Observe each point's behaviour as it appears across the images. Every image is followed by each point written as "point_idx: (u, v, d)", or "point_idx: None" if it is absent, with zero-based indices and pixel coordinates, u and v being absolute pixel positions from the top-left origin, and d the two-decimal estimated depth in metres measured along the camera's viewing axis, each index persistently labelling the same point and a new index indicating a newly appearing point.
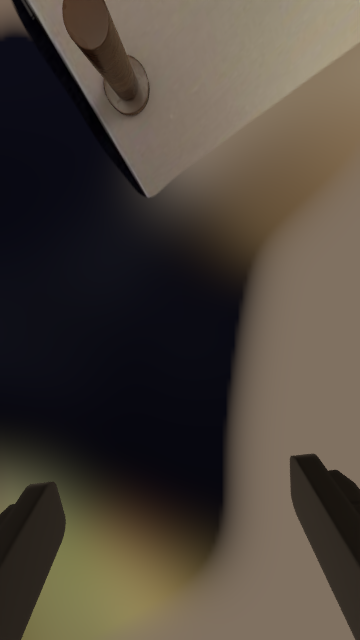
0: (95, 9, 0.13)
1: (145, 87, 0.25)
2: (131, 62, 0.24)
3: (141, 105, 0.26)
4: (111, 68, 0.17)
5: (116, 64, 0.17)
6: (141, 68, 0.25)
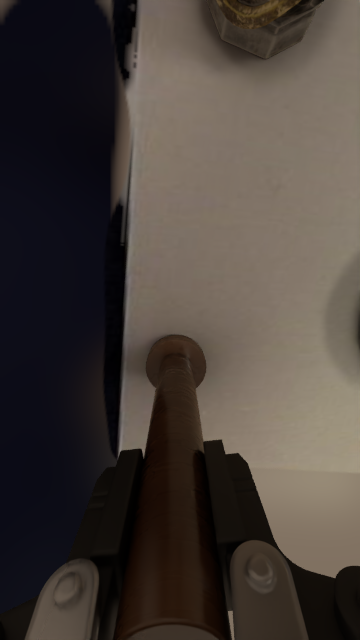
0: None
1: (195, 383, 0.19)
2: (197, 356, 0.18)
3: None
4: None
5: None
6: (203, 367, 0.18)
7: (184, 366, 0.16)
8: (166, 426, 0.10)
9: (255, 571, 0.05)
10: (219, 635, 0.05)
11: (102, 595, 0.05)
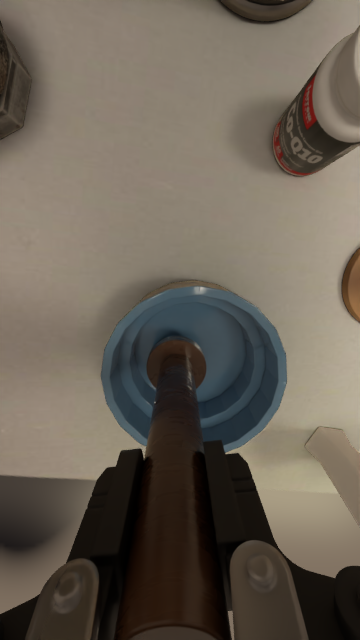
0: None
1: (196, 384, 0.19)
2: (197, 357, 0.18)
3: None
4: None
5: None
6: (204, 368, 0.19)
7: (184, 367, 0.16)
8: (167, 427, 0.10)
9: (255, 571, 0.05)
10: (219, 637, 0.05)
11: (102, 595, 0.05)
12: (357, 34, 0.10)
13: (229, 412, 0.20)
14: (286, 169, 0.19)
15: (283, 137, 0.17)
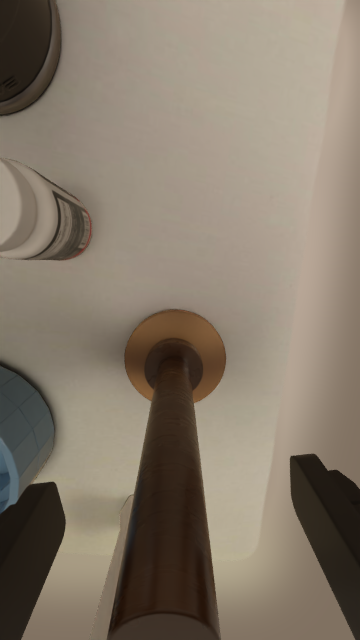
0: None
1: (192, 386, 0.19)
2: (194, 359, 0.19)
3: None
4: None
5: None
6: (200, 370, 0.19)
7: (181, 369, 0.17)
8: (163, 428, 0.10)
9: None
10: (207, 624, 0.05)
11: None
12: None
13: (4, 493, 0.20)
14: None
15: None
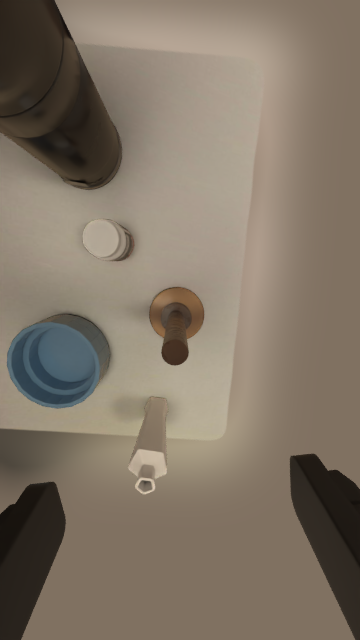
0: (181, 354, 0.22)
1: (186, 327, 0.36)
2: (186, 312, 0.36)
3: None
4: None
5: None
6: (190, 318, 0.36)
7: (179, 314, 0.34)
8: (172, 324, 0.28)
9: None
10: (185, 344, 0.22)
11: None
12: None
13: (85, 386, 0.37)
14: None
15: None
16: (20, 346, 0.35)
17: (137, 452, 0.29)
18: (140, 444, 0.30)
